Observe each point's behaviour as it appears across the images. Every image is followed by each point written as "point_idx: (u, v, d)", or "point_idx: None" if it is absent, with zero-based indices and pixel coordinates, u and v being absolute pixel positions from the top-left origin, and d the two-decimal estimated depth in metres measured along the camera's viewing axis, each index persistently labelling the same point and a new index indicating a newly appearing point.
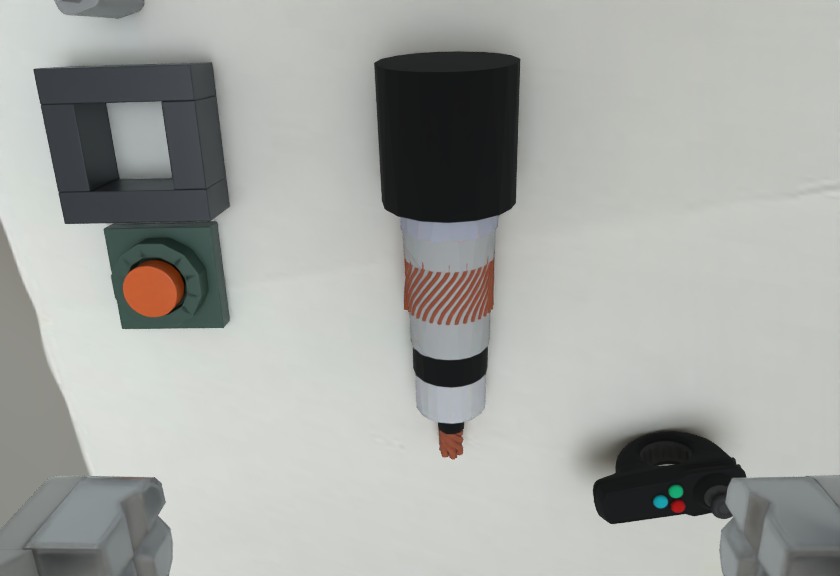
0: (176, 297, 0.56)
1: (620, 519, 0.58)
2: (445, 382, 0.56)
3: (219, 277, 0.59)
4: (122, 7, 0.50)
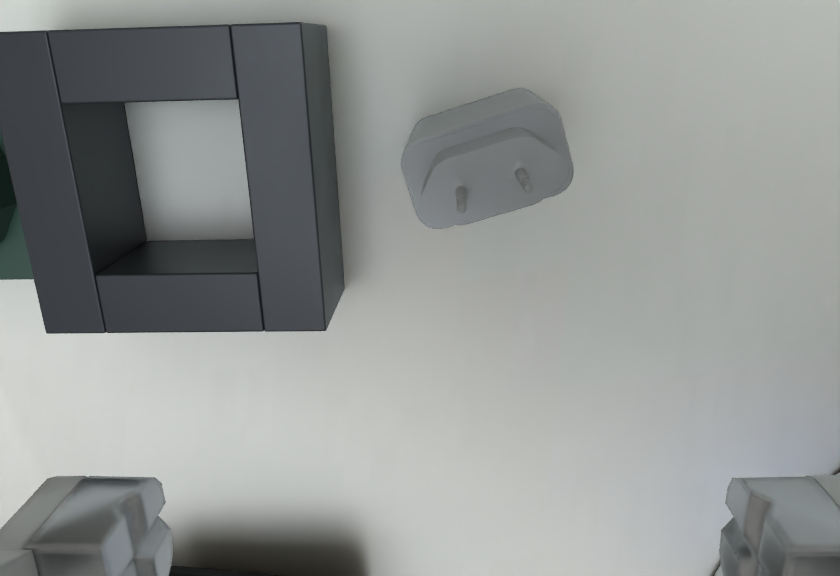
0: None
1: None
2: None
3: None
4: None
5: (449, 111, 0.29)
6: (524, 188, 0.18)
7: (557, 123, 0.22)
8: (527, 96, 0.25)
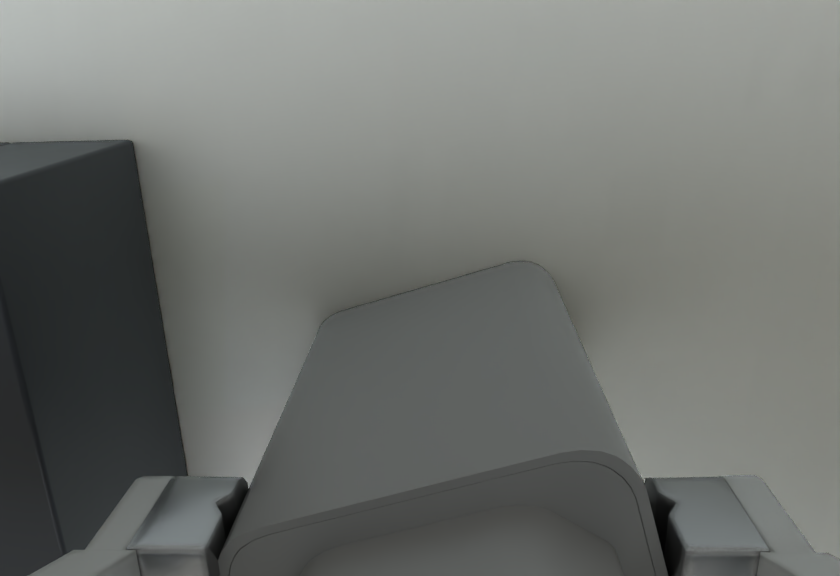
0: None
1: None
2: None
3: None
4: None
5: (382, 312, 0.14)
6: None
7: (634, 498, 0.08)
8: (544, 348, 0.11)
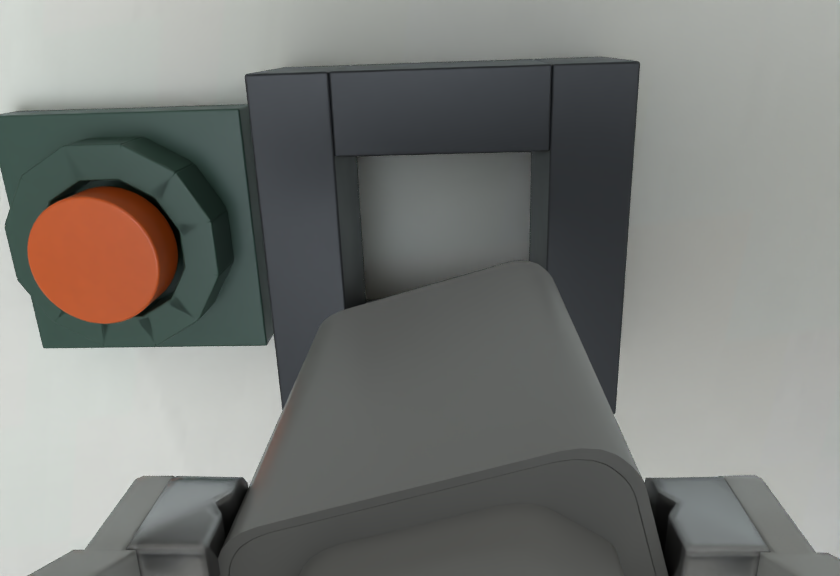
0: (91, 321, 0.24)
1: None
2: None
3: None
4: None
5: (381, 311, 0.14)
6: None
7: (634, 496, 0.08)
8: (544, 347, 0.11)
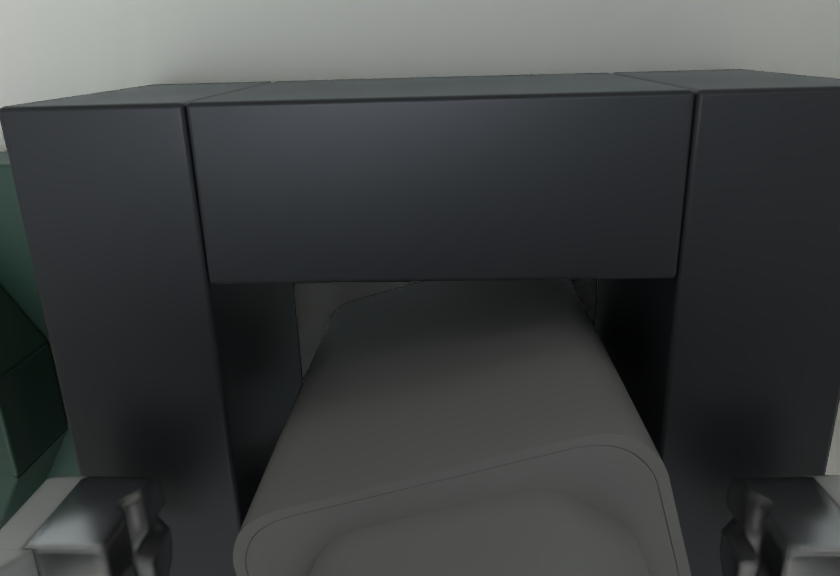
0: None
1: None
2: None
3: None
4: None
5: (394, 301, 0.14)
6: None
7: (656, 483, 0.08)
8: (561, 336, 0.10)
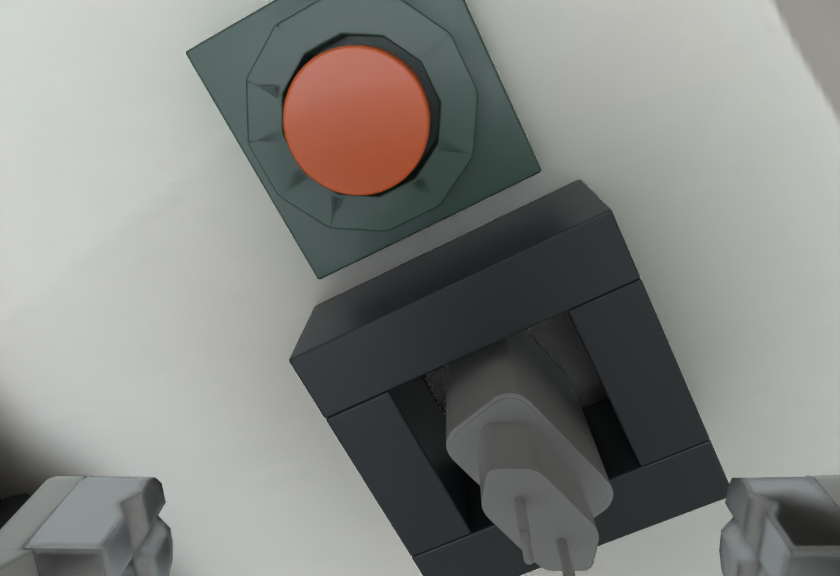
0: (287, 140, 0.21)
1: None
2: None
3: None
4: (448, 376, 0.25)
5: (528, 339, 0.27)
6: None
7: (598, 508, 0.22)
8: (592, 437, 0.24)
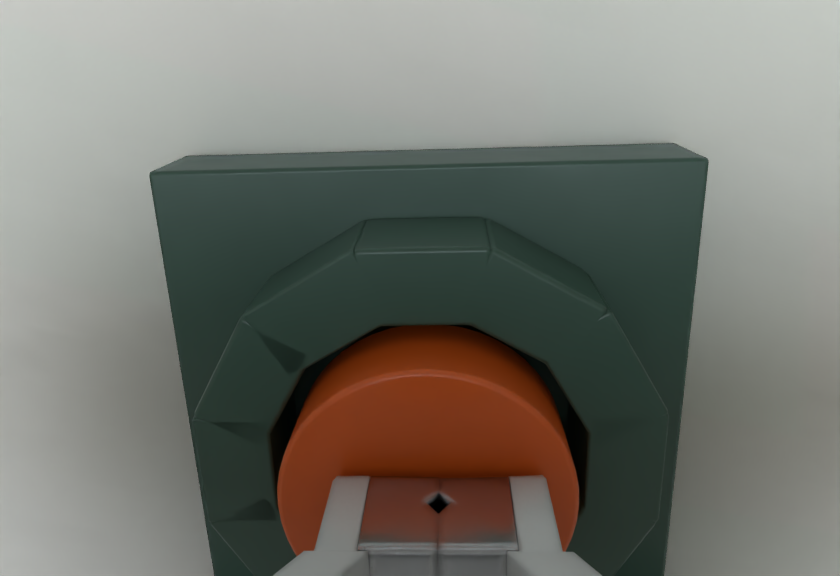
0: (281, 477, 0.10)
1: None
2: None
3: None
4: None
5: None
6: None
7: None
8: None
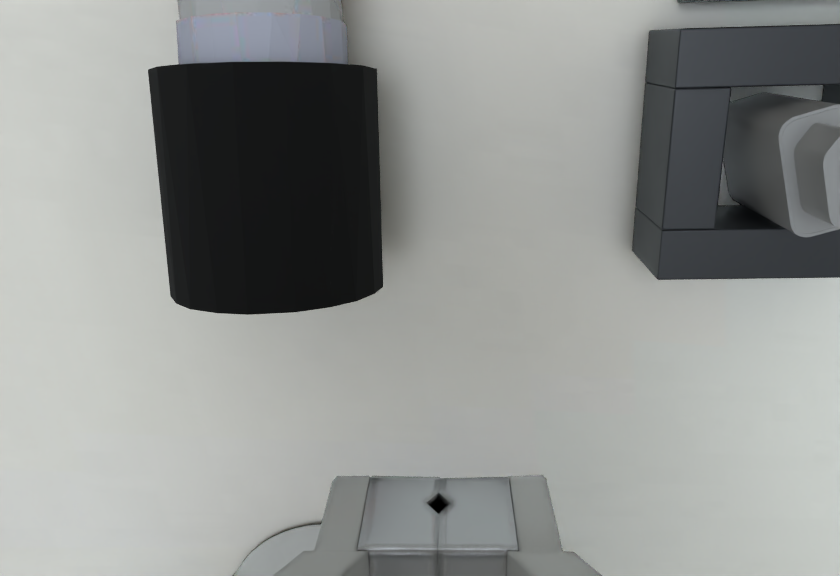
0: None
1: None
2: None
3: None
4: (750, 110, 0.33)
5: None
6: None
7: None
8: None
